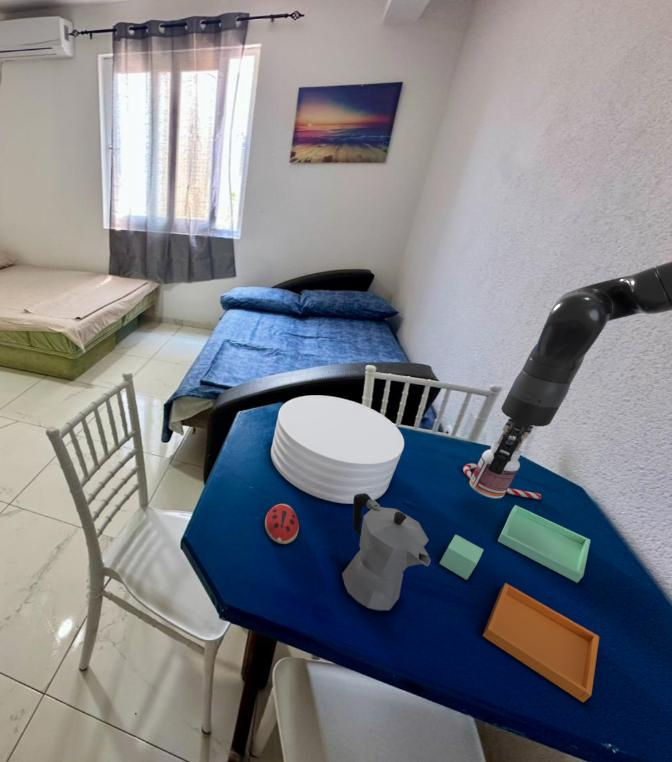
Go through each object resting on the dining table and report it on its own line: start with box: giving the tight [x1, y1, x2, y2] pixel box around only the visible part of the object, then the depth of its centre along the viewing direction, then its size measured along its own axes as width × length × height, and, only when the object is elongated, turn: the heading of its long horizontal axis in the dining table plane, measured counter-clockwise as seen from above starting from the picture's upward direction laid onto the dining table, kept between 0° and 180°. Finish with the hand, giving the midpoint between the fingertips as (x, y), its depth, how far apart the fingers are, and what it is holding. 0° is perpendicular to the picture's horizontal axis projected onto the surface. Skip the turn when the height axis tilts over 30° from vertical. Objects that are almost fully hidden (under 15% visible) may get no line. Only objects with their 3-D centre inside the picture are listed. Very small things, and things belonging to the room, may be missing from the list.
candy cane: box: [462, 463, 542, 500], centre depth 97 cm, size 8×1×15 cm
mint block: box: [438, 533, 484, 581], centre depth 76 cm, size 5×5×5 cm
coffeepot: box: [341, 493, 431, 611], centre depth 69 cm, size 15×9×18 cm, turn 16°
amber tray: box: [482, 582, 600, 704], centre depth 65 cm, size 12×12×2 cm
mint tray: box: [497, 504, 591, 584], centre depth 82 cm, size 12×12×2 cm
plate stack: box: [270, 394, 405, 505], centre depth 100 cm, size 28×28×12 cm
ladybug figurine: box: [264, 503, 300, 545], centre depth 83 cm, size 7×10×4 cm
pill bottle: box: [469, 441, 522, 499], centre depth 85 cm, size 6×6×11 cm
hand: (498, 464), depth 84 cm, fingers closed on pill bottle, 6 cm apart
